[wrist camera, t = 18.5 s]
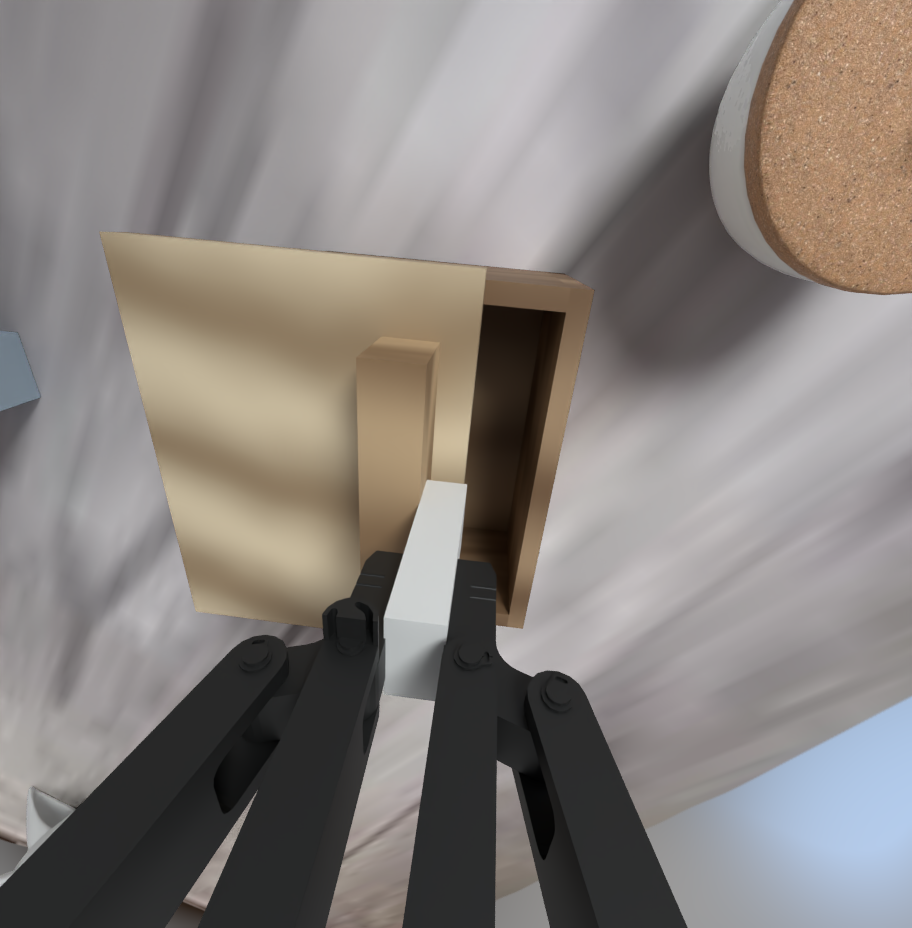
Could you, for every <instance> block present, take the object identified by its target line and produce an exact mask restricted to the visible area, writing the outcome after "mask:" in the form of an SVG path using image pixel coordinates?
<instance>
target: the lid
mask: <svg viewBox="0 0 912 928" xmlns="http://www.w3.org/2000/svg"><path fill="white" fill-rule="evenodd" d="M99 233H100V236H101V240H102V244H103V248H104V252H105V256H106V260H107V264H108V268H109V272H110V276H111V280H112V284H113V288H114V291H115V295H116V299H117V303H118V307H119V311H120V315H121V319H122V323H123V327H124V331H125V335H126V339H127V343H128V347H129V350H130V354H131V358H132V362H133V366H134V370H135V374H136V378H137V382H138V386H139V390H140V394H141V398H142V402H143V406H144V409H145V413H146V417H147V421H148V425H149V429H150V433H151V437H152V441H153V445H154V449H155V453H156V457H157V461H158V465H159V468H160V472H161V476H162V480H163V484H164V488H165V492H166V496H167V500H168V504H169V508H170V512H171V516H172V520H173V524H174V527H175V531H176V535H177V539H178V543H179V547H180V551H181V555H182V559H183V563H184V567H185V571H186V575H187V579H188V583H189V586H190V590H191V594H192V598H193V602H194V606H195V610H196V612H204V613H211V614H219V615H226V616H234V617H241V618H249V619H256V620H264V621H272V622H279V623H287V624H294V625H302V626H309V627H317V628H323V623H322V614H323V612H324V611H325V610H326V608H327V607H328V606H330V605H331V604H333V603H334V602H336V601H338V600H341V599H345V598H350V596H351V594H352V592H353V589H354V587H355V585H356V582H357V580H358V577H359V575H360V573H361V570H362V568H363V566H364V563H365V561H366V560H367V559H368V558H369V557H370V556H371V555H372V554H373V553H374V552H376V551H377V550H378V551H386V552H394V553H403V554H404V551H405V547H406V544H407V541H408V538H409V534H410V531H411V528H412V525H413V522H414V518H415V515H416V512H417V509H418V505H419V504H420V500H421V497H422V494H423V490H424V487H425V484H426V481H427V480H433V481H442V482H451V483H460V484H464V482H465V473H466V463H467V454H468V444H469V435H470V425H471V416H472V406H473V397H474V387H475V378H476V369H477V359H478V350H479V340H480V331H481V321H482V312H483V302H484V293H485V283H486V274H487V267H482V266H472V265H462V264H451V263H441V262H431V261H420V260H410V259H399V258H389V257H379V256H368V255H358V254H347V253H337V252H327V251H316V250H306V249H295V248H285V247H275V246H264V245H254V244H244V243H233V242H223V241H212V240H202V239H192V238H181V237H171V236H160V235H150V234H140V233H129V232H99Z"/></svg>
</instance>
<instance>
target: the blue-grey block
mask: <svg viewBox="0 0 912 928" xmlns="http://www.w3.org/2000/svg"><path fill="white" fill-rule="evenodd" d="M40 397H41V396H40V394H39V391H38V388H37V385H36V382H35V380H34V377H33V374H32V371H31V368H30V366H29V363H28V360H27V357H26V354H25V352H24V349H23V346H22V343H21V340H20V338H19V335H18V333H17V332H8V331H0V411H2V410H5V409H8V408H11V407H14V406H17V405H20V404H23V403H26V402H28V401H31V400H34V399H37V398H40Z"/></svg>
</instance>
